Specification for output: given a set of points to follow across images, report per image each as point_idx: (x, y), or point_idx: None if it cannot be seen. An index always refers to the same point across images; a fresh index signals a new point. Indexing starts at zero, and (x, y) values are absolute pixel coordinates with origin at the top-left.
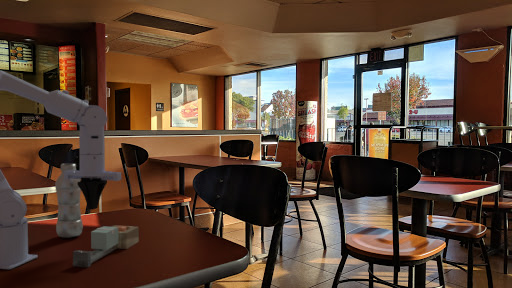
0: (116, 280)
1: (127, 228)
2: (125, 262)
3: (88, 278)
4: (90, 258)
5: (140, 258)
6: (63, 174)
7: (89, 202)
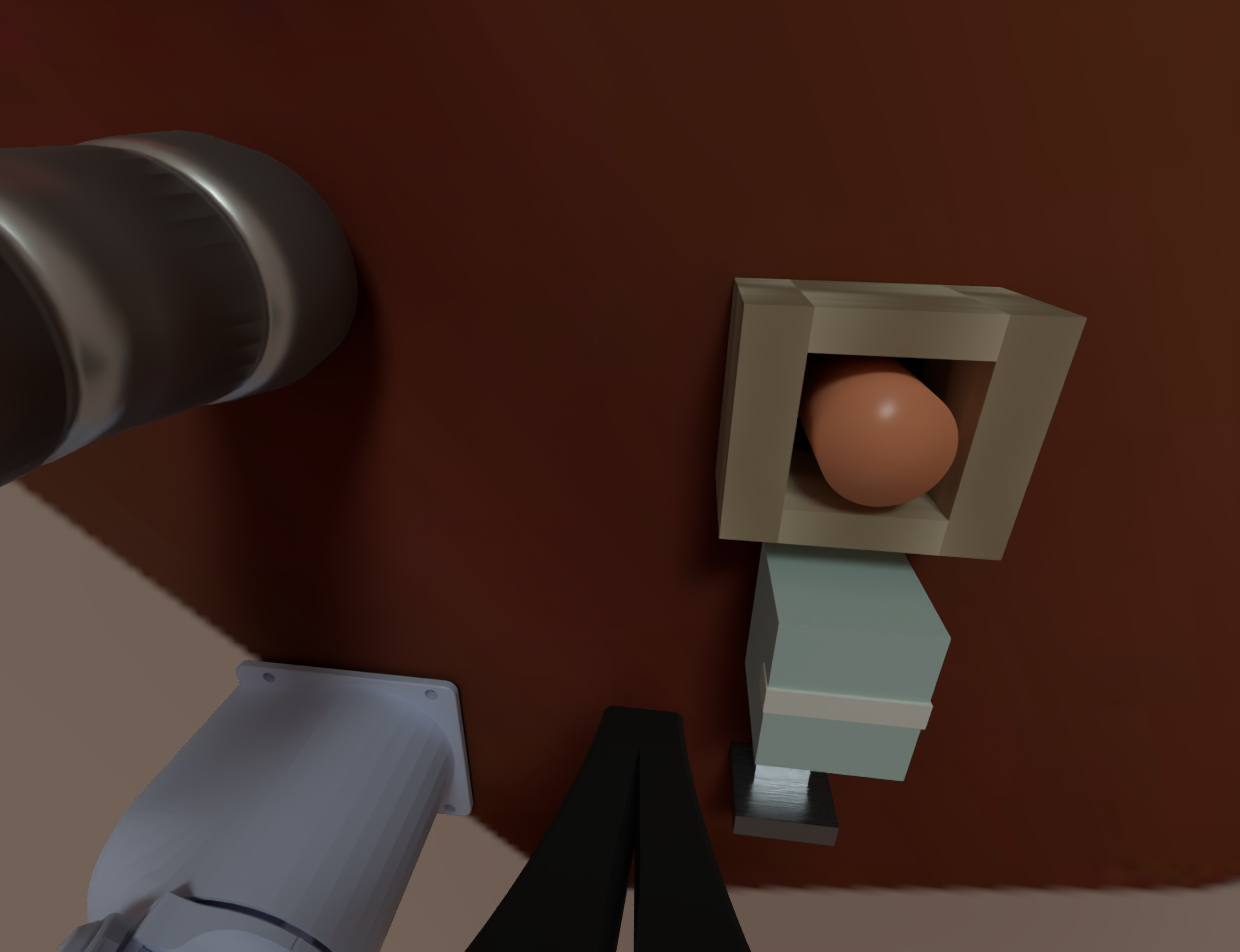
0: (1031, 870)
1: (936, 353)
2: (1013, 700)
3: (885, 856)
4: (829, 789)
5: (1103, 639)
6: None
7: (626, 889)
